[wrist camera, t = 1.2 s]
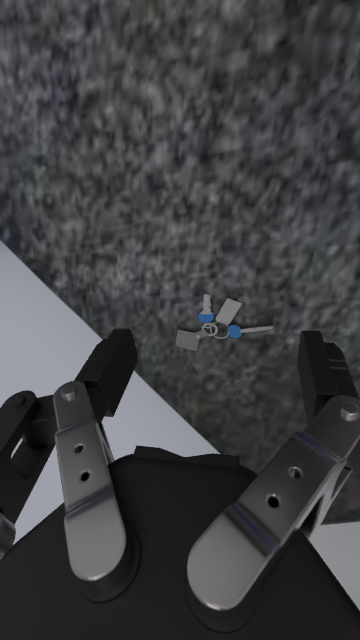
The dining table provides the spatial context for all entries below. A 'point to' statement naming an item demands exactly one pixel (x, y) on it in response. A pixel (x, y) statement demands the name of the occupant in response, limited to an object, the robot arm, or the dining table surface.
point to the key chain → (225, 315)
